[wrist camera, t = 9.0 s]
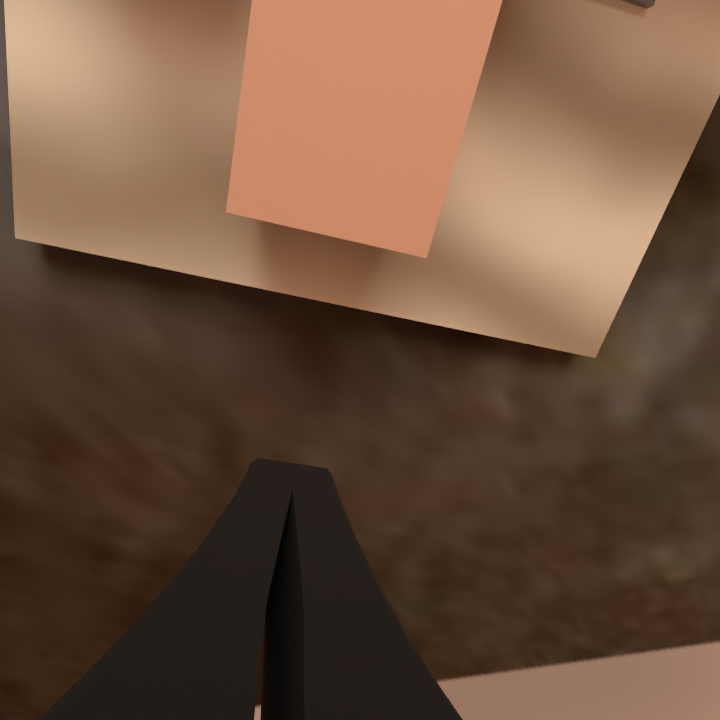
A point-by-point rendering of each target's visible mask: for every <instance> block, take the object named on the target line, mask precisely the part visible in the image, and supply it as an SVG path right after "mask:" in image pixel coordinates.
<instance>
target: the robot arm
mask: <svg viewBox="0 0 720 720" xmlns="http://www.w3.org/2000/svg"><path fill="white" fill-rule="evenodd" d="M265 611H266V614H265ZM264 618H265V635H264V656H263V678H262V701H261V720H462V718H461V717H460V715H459V714H458V713H457V711H456V709H455V708H454V707H453V705H452V704H451V702H450V701H449V699H448V698H447V696H446V695H445V694H444V692H443V691H442V689H441V688H440V686H439V685H438V683H437V682H436V680H435V679H434V677H433V675H432V674H431V672H430V671H429V669H428V668H427V666H426V665H425V663H424V662H423V660H422V659H421V657H420V655H419V654H418V652H417V651H416V649H415V647H414V646H413V644H412V642H411V641H410V639H409V637H408V636H407V634H406V632H405V631H404V629H403V627H402V626H401V624H400V622H399V620H398V619H397V617H396V615H395V613H394V611H393V610H392V608H391V606H390V604H389V602H388V601H387V599H386V597H385V595H384V593H383V591H382V590H381V588H380V586H379V584H378V582H377V580H376V578H375V576H374V574H373V572H372V570H371V568H370V566H369V564H368V562H367V560H366V557H365V555H364V553H363V551H362V549H361V547H360V545H359V543H358V541H357V539H356V536H355V534H354V532H353V530H352V527H351V525H350V523H349V520H348V518H347V515H346V513H345V510H344V508H343V505H342V503H341V500H340V498H339V495H338V492H337V489H336V486H335V483H334V480H333V477H332V474H331V473H330V472H329V470H328V469H327V468H320V467H314V466H307V465H301V464H294V463H288V462H281V461H275V460H268V459H261V458H258V459H256V460H254V461H253V462H251V464H250V466H249V469H248V472H247V474H246V476H245V478H244V480H243V482H242V484H241V485H240V487H239V489H238V491H237V492H236V494H235V496H234V497H233V499H232V500H231V502H230V503H229V505H228V507H227V508H226V510H225V511H224V513H223V514H222V515H221V517H220V518H219V520H218V521H217V522H216V524H215V525H214V527H213V528H212V530H211V531H210V532H209V534H208V535H207V537H206V538H205V539H204V541H203V542H202V543H201V545H200V546H199V547H198V549H197V550H196V551H195V552H194V554H193V555H192V556H191V557H190V559H189V560H188V561H187V562H186V564H185V565H184V566H183V567H182V568H181V570H180V571H179V572H178V573H177V575H176V576H175V577H174V578H173V579H172V581H171V582H170V583H169V584H168V586H167V587H166V588H165V589H164V590H163V592H162V593H161V594H160V595H159V596H158V597H157V599H156V600H155V601H154V602H153V603H152V604H151V605H150V606H149V608H148V609H147V610H146V611H145V612H144V613H143V614H142V615H141V616H140V618H139V619H138V620H137V621H136V622H135V623H134V624H133V625H132V626H131V627H130V628H129V629H128V631H127V632H126V633H125V634H124V635H123V636H122V637H121V638H120V639H119V640H118V641H117V642H116V643H115V644H114V645H113V646H112V647H111V649H110V650H109V651H108V652H107V653H106V654H105V655H104V656H103V657H102V658H101V659H100V660H99V661H98V662H97V663H96V664H95V665H94V666H93V667H92V668H91V669H90V670H89V671H88V672H87V673H86V674H85V675H84V676H83V677H82V678H81V679H80V680H79V681H78V682H76V683H75V684H74V685H73V686H72V687H71V688H70V689H69V690H68V691H67V692H66V693H65V694H64V695H63V696H62V697H61V698H60V699H59V700H58V701H57V702H56V703H55V704H54V705H53V706H52V707H51V708H50V709H49V710H48V711H47V712H46V713H45V714H44V715H43V716H42V717H40V718H39V719H38V720H254V712H255V703H256V693H257V683H258V674H259V664H260V655H261V646H262V636H263V627H264Z"/></svg>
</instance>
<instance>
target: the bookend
mask: <svg viewBox="0 0 720 720" xmlns="http://www.w3.org/2000/svg"><path fill="white" fill-rule="evenodd" d="M622 1H625V2H628V3H631V4H634V5H637V6H640V7H643V8H645V9H647V8H650V7H652V6H654V4H655V1H656V0H622Z"/></svg>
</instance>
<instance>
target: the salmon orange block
mask: <svg viewBox="0 0 720 720" xmlns="http://www.w3.org/2000/svg"><path fill="white" fill-rule="evenodd" d="M502 1H503V0H252V4H251V12H250V20H249V28H248V36H247V44H246V52H245V61H244V69H243V77H242V85H241V93H240V101H239V109H238V117H237V125H236V134H235V142H234V150H233V158H232V166H231V174H230V182H229V190H228V198H227V207H226V212H227V213H231V214H236V215H240V216H244V217H249V218H253V219H258V220H262V221H266V222H271V223H275V224H279V225H284V226H288V227H292V228H297V229H301V230H305V231H310V232H314V233H319V234H323V235H327V236H332V237H336V238H340V239H345V240H349V241H353V242H358V243H362V244H366V245H371V246H375V247H380V248H384V249H388V250H393V251H397V252H401V253H406V254H410V255H414V256H419V257H423V258H427V255H428V252H429V249H430V245H431V242H432V238H433V235H434V232H435V228H436V225H437V221H438V218H439V215H440V211H441V208H442V204H443V201H444V198H445V194H446V191H447V187H448V184H449V181H450V177H451V174H452V171H453V167H454V164H455V160H456V157H457V154H458V150H459V147H460V143H461V140H462V137H463V133H464V130H465V126H466V123H467V120H468V116H469V113H470V109H471V106H472V103H473V99H474V96H475V92H476V89H477V86H478V82H479V79H480V75H481V72H482V69H483V65H484V62H485V58H486V55H487V52H488V48H489V45H490V41H491V38H492V35H493V31H494V28H495V24H496V21H497V18H498V14H499V11H500V7H501V4H502Z"/></svg>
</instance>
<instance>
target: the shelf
mask: <svg viewBox="0 0 720 720" xmlns="http://www.w3.org/2000/svg"><path fill="white" fill-rule="evenodd" d="M251 4H252V0H4V8H5V30H6V51H7V73H8V95H9V116H10V138H11V159H12V181H13V203H14V224H15V238H18V239H23V240H27V241H32V242H37V243H42V244H47V245H52V246H56V247H61V248H66V249H71V250H76V251H81V252H85V253H90V254H95V255H100V256H105V257H110V258H114V259H119V260H124V261H129V262H134V263H139V264H143V265H148V266H153V267H158V268H163V269H168V270H172V271H177V272H182V273H187V274H192V275H197V276H201V277H206V278H211V279H216V280H221V281H226V282H230V283H235V284H240V285H245V286H250V287H255V288H259V289H264V290H269V291H274V292H279V293H284V294H288V295H293V296H298V297H303V298H308V299H313V300H317V301H322V302H327V303H332V304H337V305H342V306H346V307H351V308H356V309H361V310H366V311H371V312H375V313H380V314H385V315H390V316H395V317H400V318H404V319H409V320H414V321H419V322H424V323H429V324H433V325H438V326H443V327H448V328H453V329H458V330H462V331H467V332H472V333H477V334H482V335H487V336H491V337H496V338H501V339H506V340H511V341H516V342H520V343H525V344H530V345H535V346H540V347H545V348H549V349H554V350H559V351H564V352H569V353H574V354H578V355H583V356H588V357H593V358H595V357H596V355H597V353H598V351H599V349H600V347H601V345H602V343H603V340H604V338H605V336H606V334H607V332H608V330H609V328H610V326H611V324H612V321H613V319H614V317H615V315H616V313H617V311H618V309H619V307H620V304H621V302H622V300H623V298H624V296H625V294H626V292H627V290H628V288H629V285H630V283H631V281H632V279H633V277H634V275H635V273H636V271H637V269H638V266H639V264H640V262H641V260H642V258H643V256H644V254H645V252H646V249H647V247H648V245H649V243H650V241H651V239H652V237H653V235H654V233H655V230H656V228H657V226H658V224H659V222H660V220H661V218H662V216H663V213H664V211H665V209H666V207H667V205H668V203H669V201H670V199H671V197H672V194H673V192H674V190H675V188H676V186H677V184H678V182H679V180H680V178H681V175H682V173H683V171H684V169H685V167H686V165H687V163H688V161H689V158H690V156H691V154H692V152H693V150H694V148H695V146H696V144H697V142H698V139H699V137H700V135H701V133H702V131H703V129H704V127H705V125H706V122H707V120H708V118H709V116H710V114H711V112H712V110H713V108H714V106H715V103H716V101H717V99H718V97H719V95H720V0H656V1H655V4H654V6H652V7H650V8H647V9H645V8H643V7H640V6H637V5H634V4H631V3H628V2H625V1H622V0H503V1H502V4H501V7H500V11H499V14H498V18H497V21H496V24H495V28H494V31H493V35H492V38H491V41H490V45H489V48H488V52H487V55H486V58H485V62H484V65H483V69H482V72H481V75H480V79H479V82H478V86H477V89H476V92H475V96H474V99H473V103H472V106H471V109H470V113H469V116H468V120H467V123H466V126H465V130H464V133H463V137H462V140H461V143H460V147H459V150H458V154H457V157H456V160H455V164H454V167H453V171H452V174H451V177H450V181H449V184H448V187H447V191H446V194H445V198H444V201H443V204H442V208H441V211H440V215H439V218H438V221H437V225H436V228H435V232H434V235H433V238H432V242H431V245H430V249H429V252H428V255H427V258H423V257H419V256H414V255H410V254H406V253H401V252H397V251H393V250H388V249H384V248H380V247H375V246H371V245H366V244H362V243H358V242H353V241H349V240H345V239H340V238H336V237H332V236H327V235H323V234H319V233H314V232H310V231H305V230H301V229H297V228H292V227H288V226H284V225H279V224H275V223H271V222H266V221H262V220H258V219H253V218H249V217H244V216H240V215H236V214H231V213H227V212H226V207H227V198H228V190H229V182H230V174H231V166H232V158H233V150H234V142H235V134H236V125H237V117H238V109H239V101H240V93H241V85H242V77H243V69H244V61H245V52H246V44H247V36H248V28H249V20H250V12H251Z"/></svg>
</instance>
